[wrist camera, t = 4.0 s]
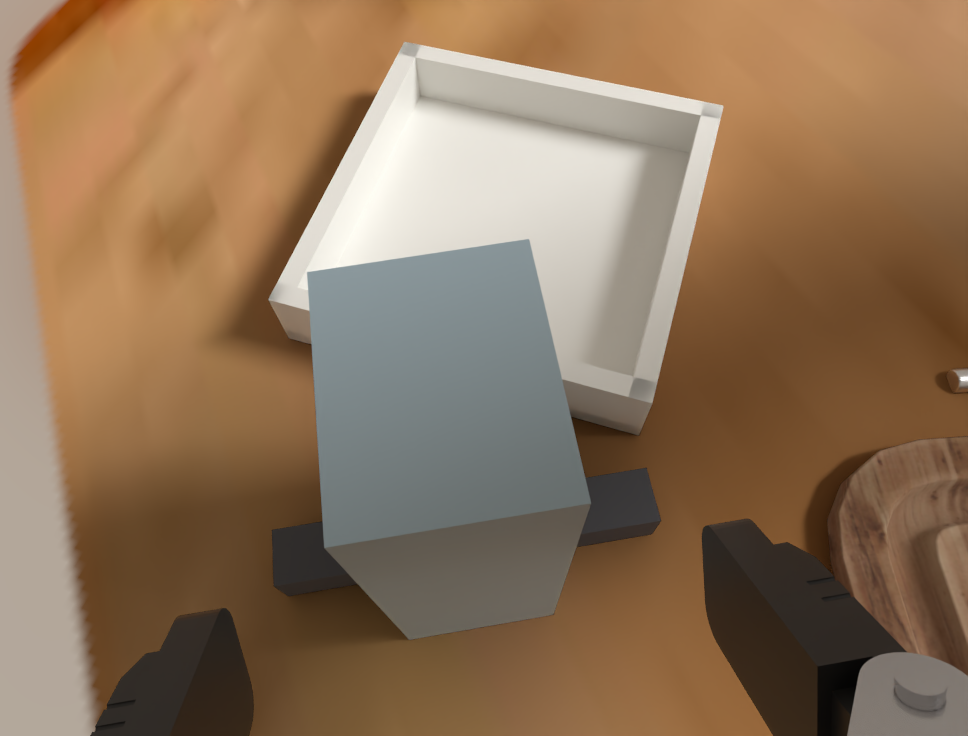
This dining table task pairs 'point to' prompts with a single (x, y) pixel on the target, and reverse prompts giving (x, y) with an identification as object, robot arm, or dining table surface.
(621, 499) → the long charcoal bar
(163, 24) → the dining table surface
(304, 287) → the parts tray
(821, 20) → the dining table surface
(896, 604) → the chopping board
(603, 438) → the dining table surface
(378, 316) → the tall gray-blue pillar
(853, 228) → the dining table surface
